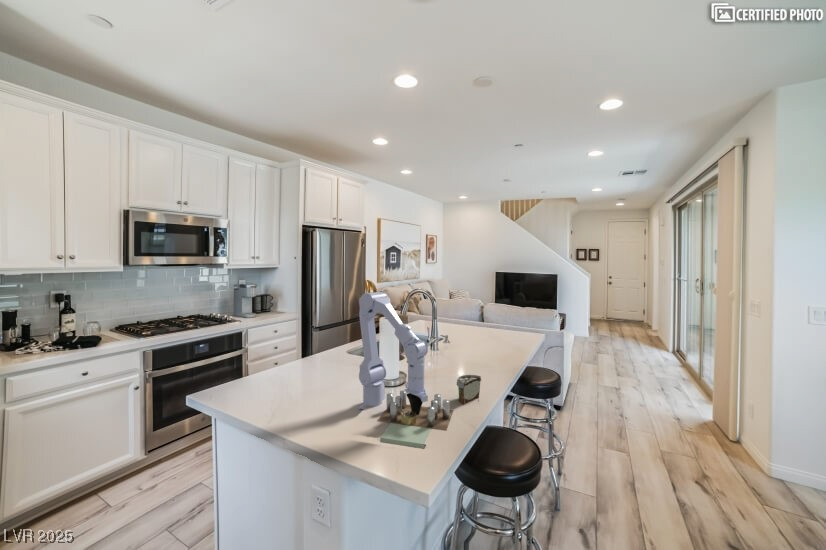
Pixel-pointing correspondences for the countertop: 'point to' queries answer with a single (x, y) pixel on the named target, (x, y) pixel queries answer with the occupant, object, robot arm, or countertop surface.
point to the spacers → (433, 410)
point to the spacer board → (419, 418)
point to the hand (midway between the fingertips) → (415, 414)
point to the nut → (408, 417)
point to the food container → (468, 388)
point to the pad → (405, 435)
